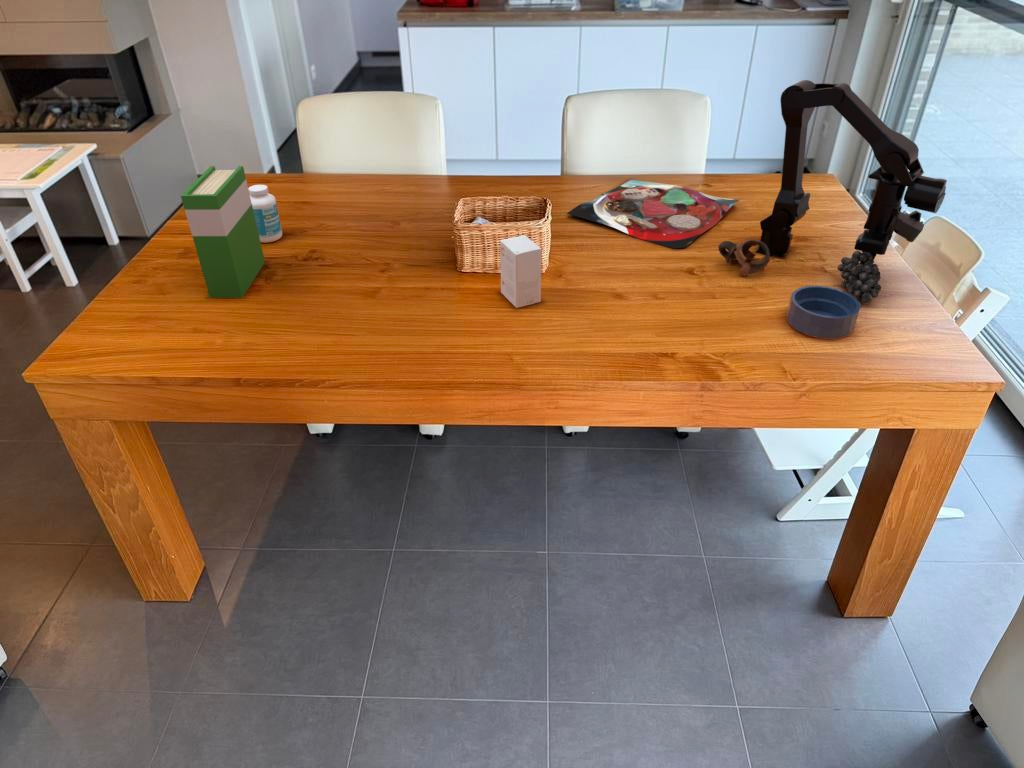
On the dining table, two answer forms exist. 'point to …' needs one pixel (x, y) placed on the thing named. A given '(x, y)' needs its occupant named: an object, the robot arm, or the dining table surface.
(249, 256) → the hardback book
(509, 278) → the small box
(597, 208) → the platter
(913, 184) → the robot arm
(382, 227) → the dining table surface
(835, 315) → the bowl
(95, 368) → the dining table surface
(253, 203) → the pill bottle
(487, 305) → the dining table surface
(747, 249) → the brown looped ring sculpture
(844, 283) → the fruit
